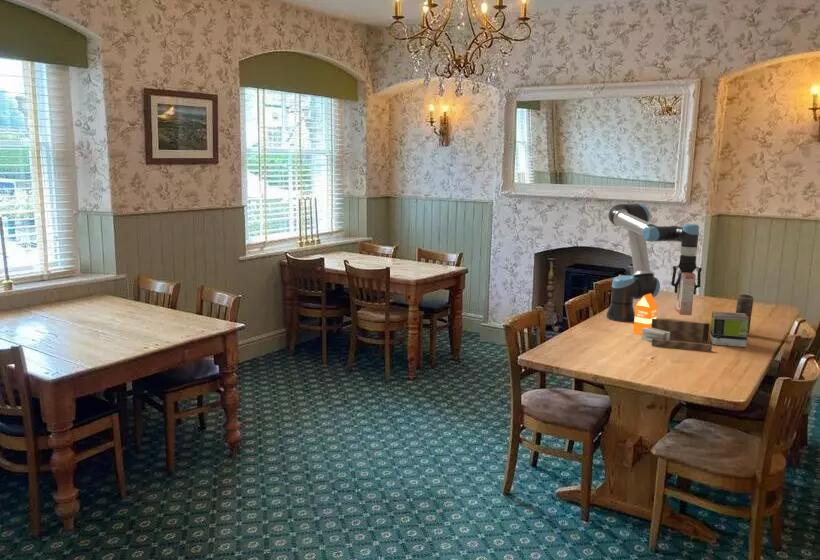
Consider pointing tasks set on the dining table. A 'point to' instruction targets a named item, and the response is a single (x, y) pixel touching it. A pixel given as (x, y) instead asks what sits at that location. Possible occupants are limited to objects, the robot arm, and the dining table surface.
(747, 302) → the candle
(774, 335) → the dining table surface
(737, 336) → the tea box
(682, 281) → the cracker box
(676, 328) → the walnut rack
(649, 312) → the orange juice
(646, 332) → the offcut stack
